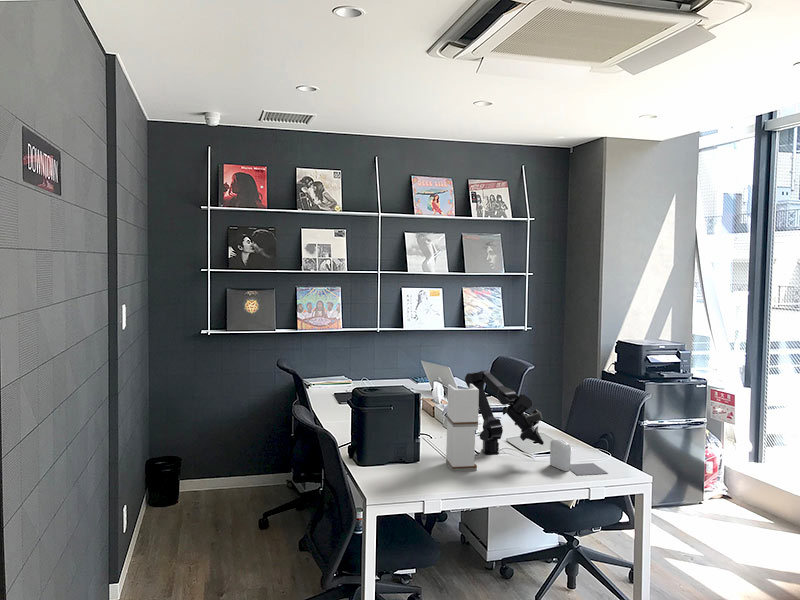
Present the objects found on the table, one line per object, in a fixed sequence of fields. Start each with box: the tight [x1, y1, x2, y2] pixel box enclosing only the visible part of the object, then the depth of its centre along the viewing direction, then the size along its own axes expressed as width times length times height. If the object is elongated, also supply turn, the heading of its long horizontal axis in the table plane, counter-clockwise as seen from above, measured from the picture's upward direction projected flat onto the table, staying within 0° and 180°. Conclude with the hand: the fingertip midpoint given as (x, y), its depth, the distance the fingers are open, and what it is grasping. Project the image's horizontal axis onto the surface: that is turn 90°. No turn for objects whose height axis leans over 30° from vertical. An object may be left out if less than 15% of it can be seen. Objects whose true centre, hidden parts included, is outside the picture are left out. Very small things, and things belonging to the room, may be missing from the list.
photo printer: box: [549, 438, 572, 472], centre depth 291 cm, size 10×4×12 cm, turn 26°
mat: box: [569, 462, 609, 476], centre depth 290 cm, size 14×13×1 cm
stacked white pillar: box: [445, 383, 479, 473], centre depth 289 cm, size 11×11×35 cm
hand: (543, 444), depth 293 cm, fingers closed
